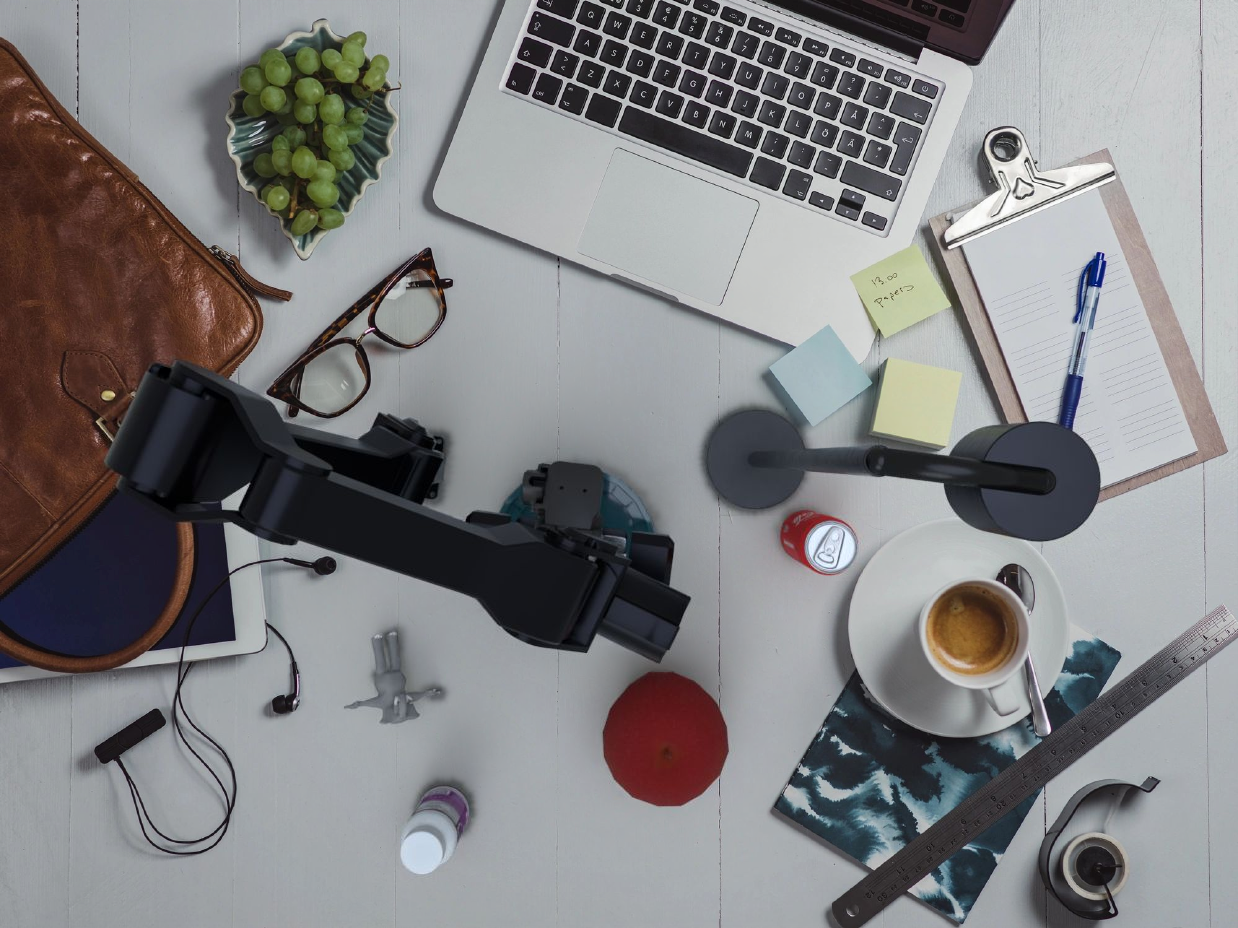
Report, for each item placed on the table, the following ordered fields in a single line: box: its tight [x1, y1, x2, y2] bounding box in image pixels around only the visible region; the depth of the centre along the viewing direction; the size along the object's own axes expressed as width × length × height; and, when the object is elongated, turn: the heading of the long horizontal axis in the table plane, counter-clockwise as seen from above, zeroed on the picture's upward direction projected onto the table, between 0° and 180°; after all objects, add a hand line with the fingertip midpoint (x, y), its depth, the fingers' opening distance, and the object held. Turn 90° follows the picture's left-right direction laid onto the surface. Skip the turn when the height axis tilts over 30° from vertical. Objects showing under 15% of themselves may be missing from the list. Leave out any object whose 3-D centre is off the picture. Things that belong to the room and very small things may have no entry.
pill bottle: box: [399, 785, 470, 875], centre depth 82 cm, size 5×5×10 cm
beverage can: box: [779, 509, 859, 576], centre depth 80 cm, size 5×5×12 cm
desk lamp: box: [704, 409, 1102, 543], centre depth 63 cm, size 16×10×45 cm, turn 83°
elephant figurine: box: [343, 631, 441, 725], centre depth 84 cm, size 10×6×9 cm
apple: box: [602, 671, 730, 807], centre depth 79 cm, size 12×12×13 cm
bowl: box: [498, 469, 655, 558], centre depth 84 cm, size 16×16×4 cm
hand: (574, 547), depth 83 cm, fingers closed on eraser, 3 cm apart
